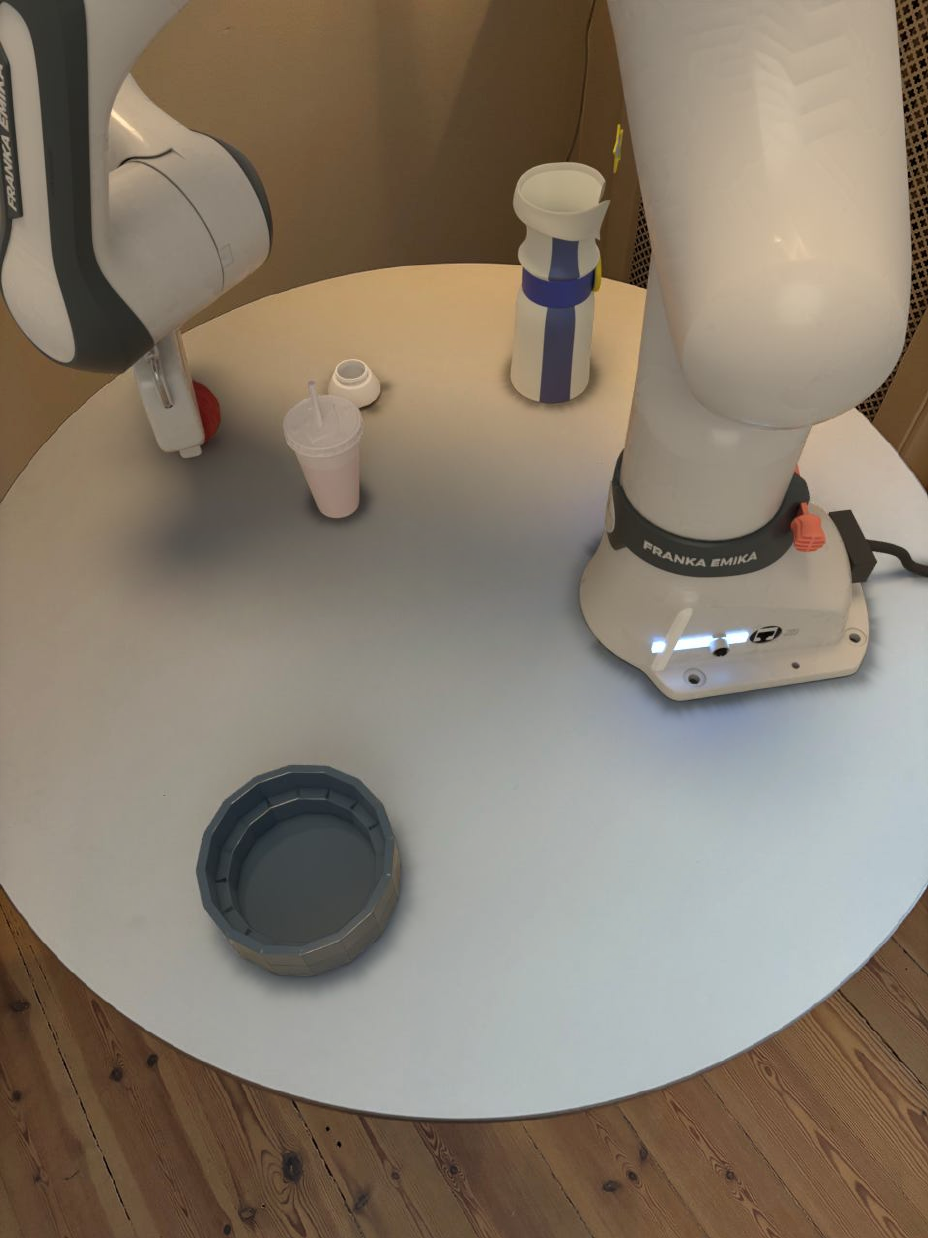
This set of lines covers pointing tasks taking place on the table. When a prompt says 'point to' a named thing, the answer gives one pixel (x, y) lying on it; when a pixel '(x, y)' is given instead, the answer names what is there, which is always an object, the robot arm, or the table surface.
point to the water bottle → (557, 277)
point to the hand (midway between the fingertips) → (183, 415)
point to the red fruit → (207, 410)
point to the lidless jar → (354, 382)
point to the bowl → (300, 869)
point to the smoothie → (327, 449)
